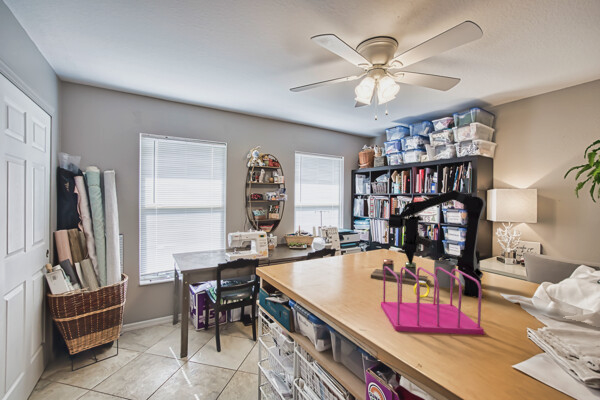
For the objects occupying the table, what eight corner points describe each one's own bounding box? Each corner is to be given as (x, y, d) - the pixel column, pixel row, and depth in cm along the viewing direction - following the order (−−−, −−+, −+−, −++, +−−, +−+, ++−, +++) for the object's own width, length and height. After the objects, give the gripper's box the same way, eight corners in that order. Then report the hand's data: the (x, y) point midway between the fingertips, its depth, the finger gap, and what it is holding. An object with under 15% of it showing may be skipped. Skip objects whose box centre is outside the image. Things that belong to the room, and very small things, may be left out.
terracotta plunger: (392, 275, 126) (392, 261, 125) (382, 273, 128) (382, 260, 128) (393, 273, 130) (394, 259, 129) (384, 271, 132) (384, 258, 132)
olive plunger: (415, 279, 121) (415, 264, 121) (404, 277, 123) (404, 263, 123) (416, 276, 125) (416, 262, 125) (405, 274, 127) (405, 261, 127)
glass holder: (482, 283, 121) (483, 251, 121) (475, 291, 111) (477, 256, 110) (460, 279, 127) (461, 248, 127) (452, 286, 117) (453, 252, 116)
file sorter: (380, 306, 94) (381, 262, 94) (452, 309, 93) (453, 264, 93) (395, 331, 77) (396, 278, 77) (484, 335, 76) (486, 280, 75)
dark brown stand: (426, 287, 115) (426, 272, 115) (370, 278, 127) (370, 264, 127) (427, 279, 126) (427, 265, 126) (376, 271, 137) (376, 259, 137)
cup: (449, 282, 123) (450, 260, 123) (458, 288, 115) (459, 265, 114) (430, 281, 124) (431, 259, 123) (438, 287, 115) (438, 264, 115)
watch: (426, 295, 106) (427, 281, 106) (430, 298, 103) (431, 283, 103) (411, 294, 106) (413, 280, 105) (415, 297, 103) (416, 282, 103)
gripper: (430, 233, 111) (429, 270, 112) (431, 229, 128) (430, 261, 128) (401, 231, 117) (400, 266, 117) (406, 227, 133) (406, 258, 133)
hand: (410, 263), depth 124 cm, fingers closed, pressing on olive plunger
